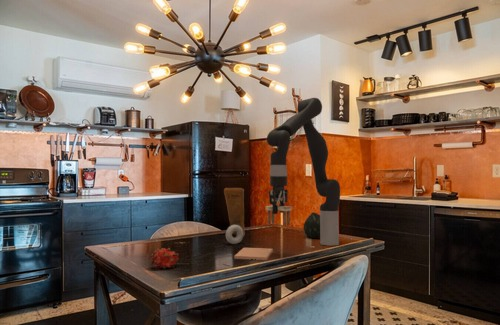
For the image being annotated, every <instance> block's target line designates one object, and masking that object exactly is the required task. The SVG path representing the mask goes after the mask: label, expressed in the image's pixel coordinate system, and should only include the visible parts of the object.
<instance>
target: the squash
mask: <svg viewBox="0 0 500 325" xmlns="http://www.w3.org/2000/svg"><path fill="white" fill-rule="evenodd" d="M302 228H303V232H304V234H305V236H306V237H307V238H310V239H316V238H317V239H318V240H320V213H316V212H310V214H309V215H308V217H307V218H306V219H305V221H304V223H303V227H302Z"/></svg>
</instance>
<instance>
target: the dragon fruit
mask: <svg viewBox="0 0 500 325" xmlns="http://www.w3.org/2000/svg"><path fill="white" fill-rule="evenodd" d="M180 258H181V256H180V254H179V253H177V252H176V251H174V250H171V248H170V247H167V248H165V247H162V248H161V249H160V248H156V250H154V251H153V252H152V253H151V254H150V258H149V260H150V261H151V266H153V267H155V266H156V267H157V269H161V268H162V269H163V270H164V269H166V268H169V269H172V268H174V267H175V264H177V263H178V261H179V260H180Z"/></svg>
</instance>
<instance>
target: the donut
mask: <svg viewBox="0 0 500 325" xmlns="http://www.w3.org/2000/svg"><path fill="white" fill-rule="evenodd" d="M234 231H236V232H237V235H235V237H233V234H232V233H233V232H234ZM225 238H226V241H227V242H228V243H229V244H231V245H237V244H239V243H240V242H241V241H242V240H243V238H244V236H243V230H242V228H241V227H240V226H238V225H231V226H230V225H229V226H228V227H227V229H226V230H225Z"/></svg>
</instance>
